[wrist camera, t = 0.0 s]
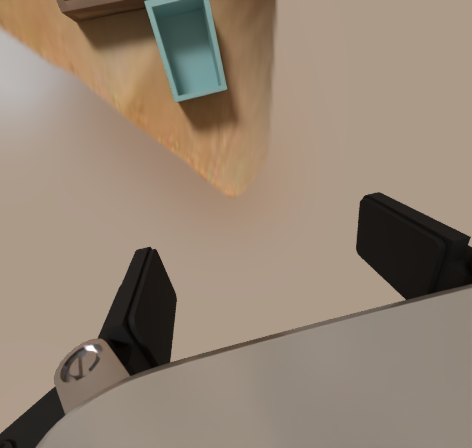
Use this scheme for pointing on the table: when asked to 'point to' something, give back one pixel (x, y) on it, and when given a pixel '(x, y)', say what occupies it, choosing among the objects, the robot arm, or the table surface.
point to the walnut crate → (97, 8)
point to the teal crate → (187, 47)
